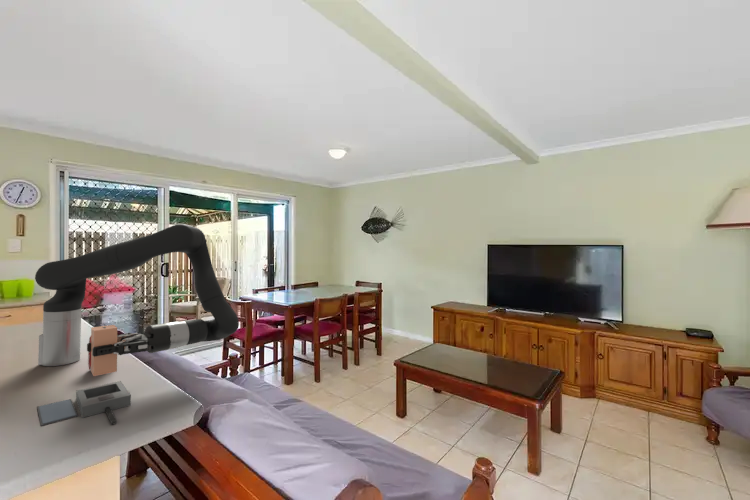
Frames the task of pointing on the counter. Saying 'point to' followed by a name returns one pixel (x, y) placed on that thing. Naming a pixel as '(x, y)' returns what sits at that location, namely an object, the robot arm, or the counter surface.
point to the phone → (56, 412)
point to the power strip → (103, 399)
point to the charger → (99, 338)
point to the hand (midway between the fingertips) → (90, 349)
